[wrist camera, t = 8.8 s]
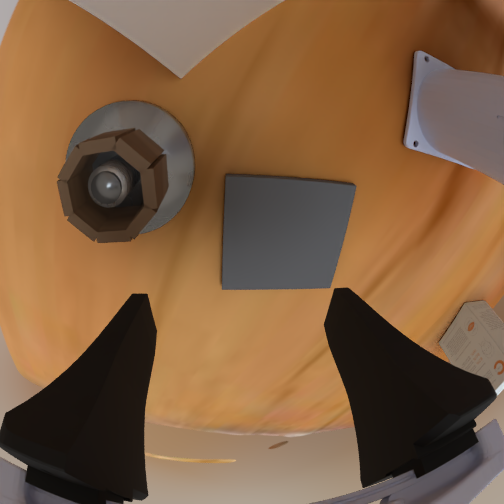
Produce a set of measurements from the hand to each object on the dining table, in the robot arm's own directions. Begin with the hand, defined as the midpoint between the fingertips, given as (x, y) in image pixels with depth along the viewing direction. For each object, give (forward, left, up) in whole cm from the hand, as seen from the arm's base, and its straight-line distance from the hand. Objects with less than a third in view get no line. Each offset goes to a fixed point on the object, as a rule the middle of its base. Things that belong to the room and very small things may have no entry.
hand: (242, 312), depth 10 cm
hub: (+7, -3, -10) cm, 12 cm away
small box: (-34, +15, -10) cm, 39 cm away
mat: (-4, +2, -10) cm, 11 cm away
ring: (+7, -3, -9) cm, 12 cm away
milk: (+4, -17, -10) cm, 20 cm away
